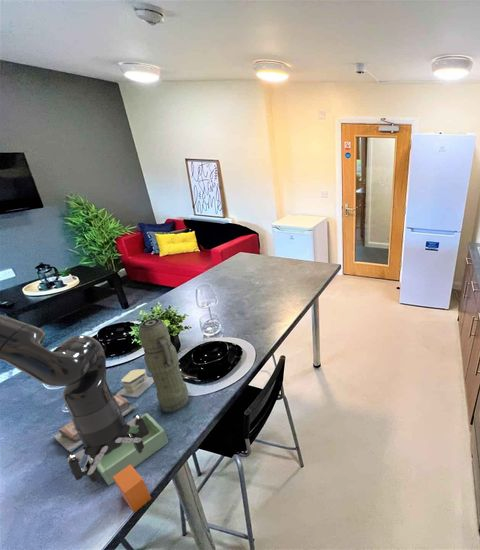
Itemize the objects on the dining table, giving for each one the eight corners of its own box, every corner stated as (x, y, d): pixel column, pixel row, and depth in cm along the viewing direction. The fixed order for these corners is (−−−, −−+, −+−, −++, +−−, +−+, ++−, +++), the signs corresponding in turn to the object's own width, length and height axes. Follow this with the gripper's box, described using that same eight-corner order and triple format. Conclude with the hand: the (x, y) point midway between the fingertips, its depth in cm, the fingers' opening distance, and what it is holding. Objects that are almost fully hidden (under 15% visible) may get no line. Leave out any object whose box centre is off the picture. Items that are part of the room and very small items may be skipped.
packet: (134, 513, 74) (124, 493, 71) (122, 496, 78) (112, 476, 74) (151, 498, 77) (142, 479, 74) (139, 483, 81) (130, 463, 77)
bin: (108, 485, 80) (102, 473, 78) (92, 462, 85) (85, 450, 83) (168, 442, 92) (164, 430, 90) (151, 424, 98) (146, 412, 95)
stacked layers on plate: (137, 397, 107) (133, 386, 105) (115, 394, 108) (111, 383, 106) (158, 378, 117) (154, 367, 114) (138, 375, 117) (134, 364, 115)
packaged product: (115, 389, 104) (131, 399, 101) (119, 399, 106) (135, 409, 103) (48, 429, 89) (64, 442, 86) (54, 439, 91) (70, 453, 88)
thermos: (176, 388, 112) (152, 311, 98) (197, 399, 108) (176, 320, 93) (152, 405, 104) (123, 324, 90) (174, 417, 100) (147, 334, 86)
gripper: (128, 390, 72) (145, 435, 79) (48, 432, 61) (75, 480, 68) (142, 404, 69) (158, 450, 75) (60, 452, 58) (88, 500, 64)
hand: (119, 464), depth 71 cm, fingers open, 8 cm apart
